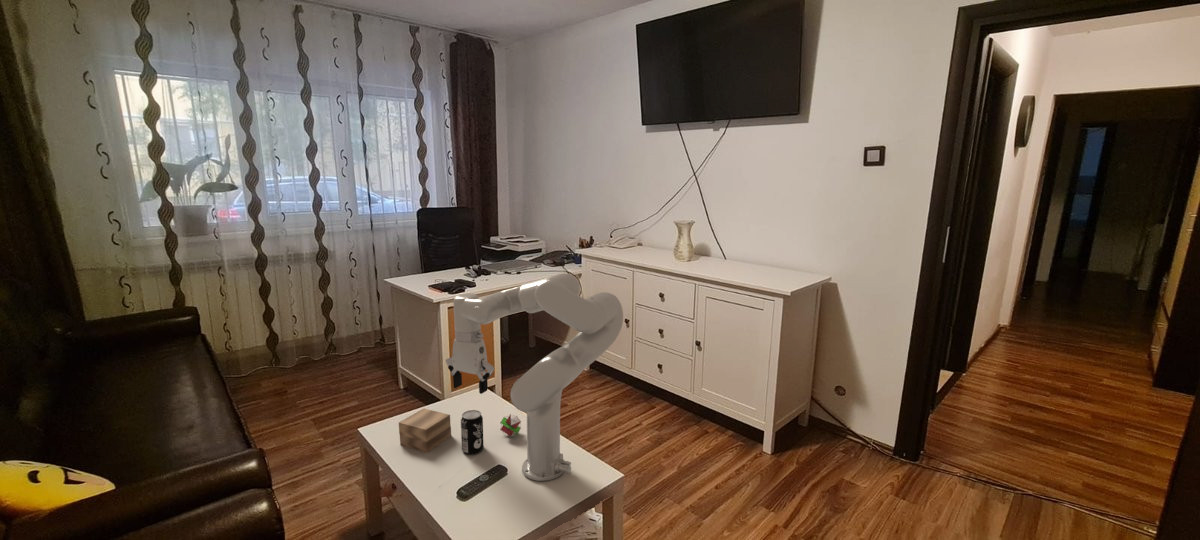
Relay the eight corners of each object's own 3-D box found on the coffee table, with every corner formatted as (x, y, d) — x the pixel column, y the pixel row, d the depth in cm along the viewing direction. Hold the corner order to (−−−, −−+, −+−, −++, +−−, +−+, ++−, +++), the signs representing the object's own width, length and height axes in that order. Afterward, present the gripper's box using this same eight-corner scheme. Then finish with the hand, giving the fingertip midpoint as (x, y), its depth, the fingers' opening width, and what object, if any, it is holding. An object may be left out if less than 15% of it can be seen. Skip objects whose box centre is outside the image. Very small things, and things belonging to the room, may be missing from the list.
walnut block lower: (451, 437, 166) (450, 426, 166) (427, 453, 156) (426, 441, 156) (425, 430, 171) (424, 419, 170) (400, 445, 161) (399, 434, 160)
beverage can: (486, 445, 161) (485, 410, 159) (479, 456, 155) (478, 419, 153) (466, 443, 162) (465, 408, 160) (458, 454, 155) (457, 418, 153)
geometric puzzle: (496, 441, 164) (496, 418, 162) (503, 430, 170) (502, 408, 169) (518, 442, 163) (518, 419, 162) (524, 432, 170) (523, 410, 168)
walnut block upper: (450, 426, 166) (450, 414, 165) (426, 441, 156) (425, 429, 155) (424, 419, 170) (423, 408, 169) (399, 434, 160) (398, 422, 159)
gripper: (499, 335, 152) (501, 389, 155) (453, 328, 159) (456, 380, 162) (483, 342, 145) (486, 399, 148) (436, 335, 152) (439, 389, 155)
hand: (470, 389), depth 155 cm, fingers open, 9 cm apart
